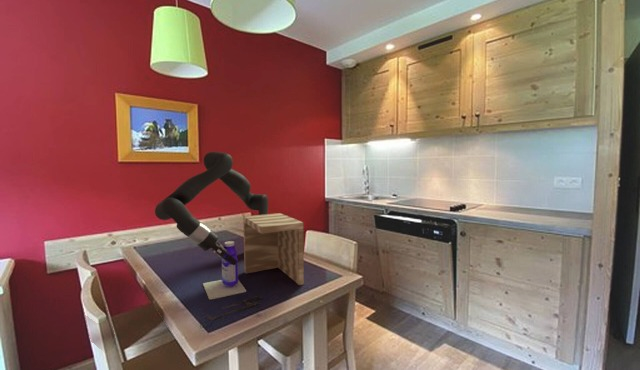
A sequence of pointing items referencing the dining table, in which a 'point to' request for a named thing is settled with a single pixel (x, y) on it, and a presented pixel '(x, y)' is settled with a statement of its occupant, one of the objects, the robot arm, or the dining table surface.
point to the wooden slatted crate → (274, 245)
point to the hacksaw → (237, 309)
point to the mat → (222, 289)
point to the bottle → (230, 266)
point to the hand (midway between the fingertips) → (233, 260)
